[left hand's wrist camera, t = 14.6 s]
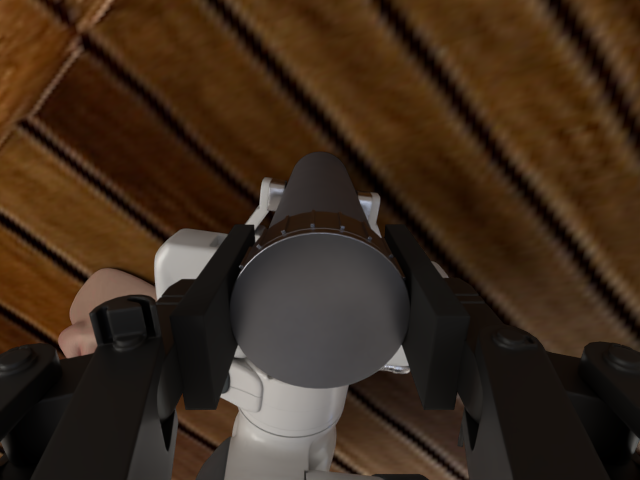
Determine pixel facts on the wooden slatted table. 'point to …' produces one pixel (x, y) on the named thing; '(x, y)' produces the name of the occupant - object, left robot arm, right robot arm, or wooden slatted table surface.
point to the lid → (319, 301)
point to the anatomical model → (90, 296)
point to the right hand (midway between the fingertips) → (321, 186)
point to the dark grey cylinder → (319, 189)
